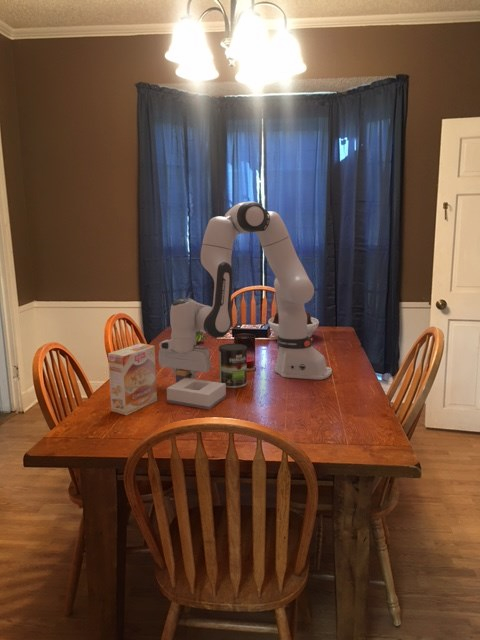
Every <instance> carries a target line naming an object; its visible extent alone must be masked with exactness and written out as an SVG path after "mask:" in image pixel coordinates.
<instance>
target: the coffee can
mask: <svg viewBox="0 0 480 640" xmlns="http://www.w3.org/2000/svg"><path fill="white" fill-rule="evenodd" d="M247 349H248V347H247V346H246V345H245V344H241V343H225V344H220V345H219V346H218V356H219V357H218V358H219V359H218V361H219V363H218V365H219V383H226V389H227V388H229V389H237V388H242V387H245V386H247V385H248V379H247V378H248V374H247V372H248V368H247V365H248V363H247V362H248V361H247V358H248V357H247V352H248V351H247Z"/></svg>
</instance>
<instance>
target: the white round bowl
mask: <svg viewBox="0 0 480 640" xmlns="http://www.w3.org/2000/svg"><path fill="white" fill-rule="evenodd" d="M306 315H307V336H308V337H309V338H310V339H311V338H312V336H313V333H314V332H315V330H316V329H318V326H319V323H320V321H319V319H317V318H316V317H313V316H311V313H310V312H306ZM267 324H268V326H269V328H270V329H271V330H272V331H273V334H274V336H275V337H276V338H277V339H278V335H279V315H278V312H277V313H275V315H274V317H271V318H269V319H268V321H267Z"/></svg>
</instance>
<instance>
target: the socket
mask: <svg viewBox="0 0 480 640" xmlns="http://www.w3.org/2000/svg"><path fill="white" fill-rule="evenodd" d="M226 393H227V387H226V383H220V381H219V382H218V381H212V380H204V379H199V378H197V379H196V378H195V379H191V378H184V379H182V380H180V381H178V382H177V383H176V382H175V383H173V384H172V385H170V386H168V387H166V400H167V401H166V403H167V404H169V403H170V404H174V405H175V404H176V405H181V406H185V407H186V406H187V407H192V408H198V409H203V410H211V409H212V408H213V407H215V406H216V405H217V404H219V403H220V402H221V401H223V400H224V399H225V398H226V397H227V394H226Z"/></svg>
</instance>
